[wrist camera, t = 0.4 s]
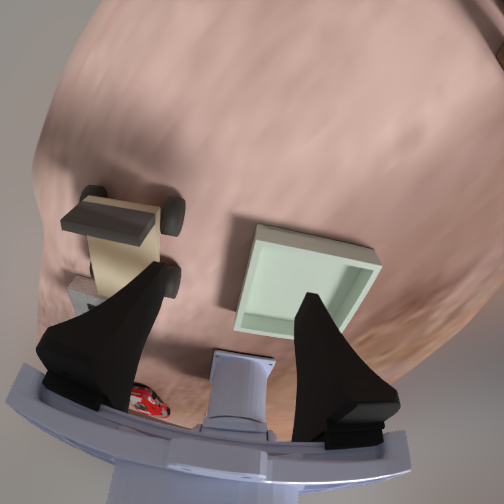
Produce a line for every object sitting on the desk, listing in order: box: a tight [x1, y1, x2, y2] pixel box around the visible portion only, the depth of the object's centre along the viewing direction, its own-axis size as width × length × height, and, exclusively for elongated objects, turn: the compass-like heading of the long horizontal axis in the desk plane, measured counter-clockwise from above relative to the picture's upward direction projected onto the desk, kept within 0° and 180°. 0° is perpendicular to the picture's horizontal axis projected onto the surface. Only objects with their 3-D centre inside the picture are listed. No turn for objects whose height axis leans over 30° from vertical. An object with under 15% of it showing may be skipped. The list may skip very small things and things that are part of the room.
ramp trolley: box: [60, 185, 185, 299], centre depth 21 cm, size 10×9×7 cm
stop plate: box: [67, 275, 110, 316], centre depth 29 cm, size 6×8×2 cm
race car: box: [130, 385, 170, 418], centre depth 45 cm, size 13×5×4 cm, turn 5°
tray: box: [233, 224, 382, 340], centre depth 25 cm, size 11×11×2 cm
